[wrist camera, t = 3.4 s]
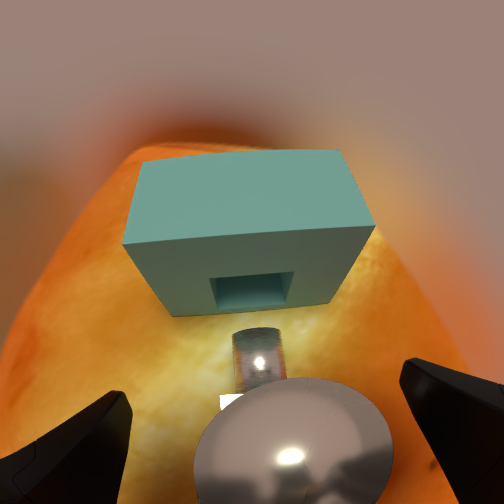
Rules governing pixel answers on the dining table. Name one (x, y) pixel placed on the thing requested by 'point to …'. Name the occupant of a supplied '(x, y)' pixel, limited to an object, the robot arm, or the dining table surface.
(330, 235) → the teal block
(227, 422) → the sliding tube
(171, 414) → the dining table surface
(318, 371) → the dining table surface
